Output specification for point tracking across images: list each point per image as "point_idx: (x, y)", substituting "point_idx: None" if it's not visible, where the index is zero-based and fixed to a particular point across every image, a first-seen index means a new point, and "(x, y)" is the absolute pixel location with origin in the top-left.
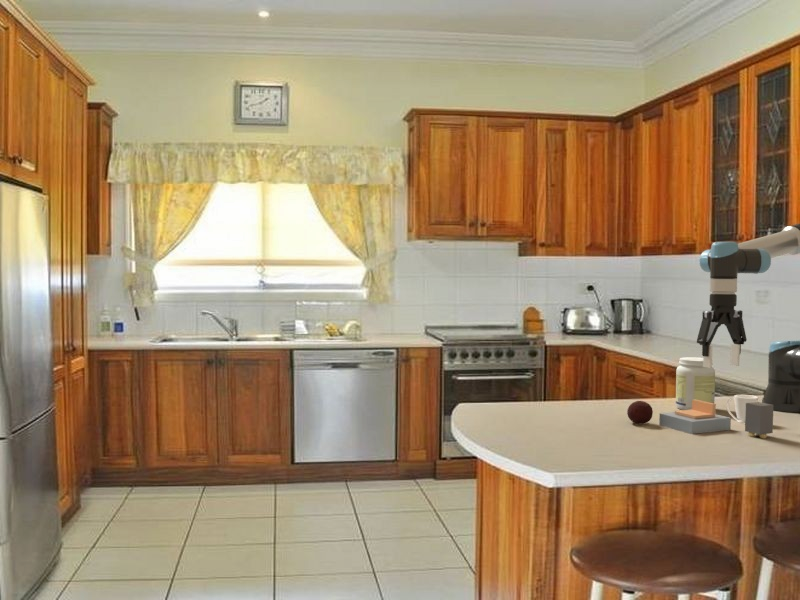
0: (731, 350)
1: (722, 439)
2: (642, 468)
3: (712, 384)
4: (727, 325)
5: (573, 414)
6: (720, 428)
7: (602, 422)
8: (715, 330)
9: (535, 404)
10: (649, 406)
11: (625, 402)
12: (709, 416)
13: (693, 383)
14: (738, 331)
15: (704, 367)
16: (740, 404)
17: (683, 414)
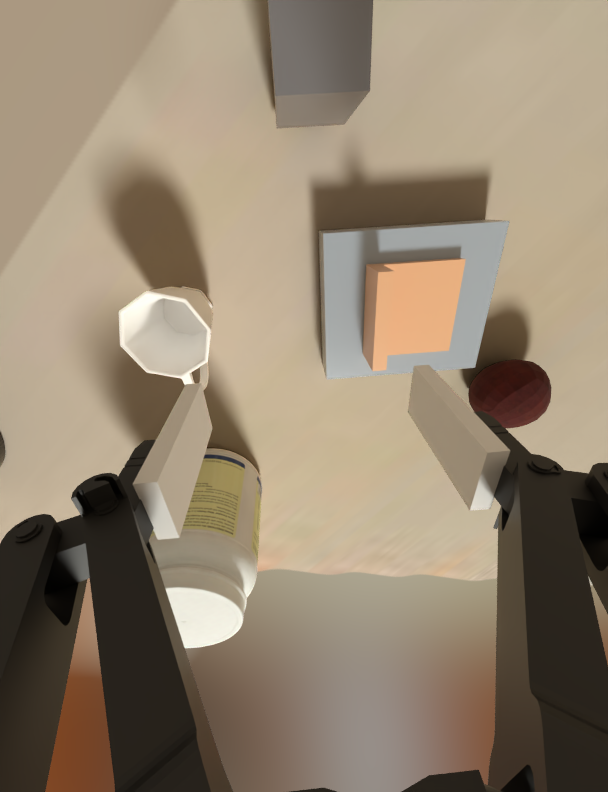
0: (191, 488)
1: (473, 95)
2: None
3: None
4: (221, 769)
5: None
6: (364, 228)
7: (550, 415)
8: (553, 617)
9: None
10: (515, 384)
11: (323, 554)
12: (394, 263)
13: (239, 516)
14: (47, 658)
15: (187, 563)
16: (208, 317)
17: (454, 311)
